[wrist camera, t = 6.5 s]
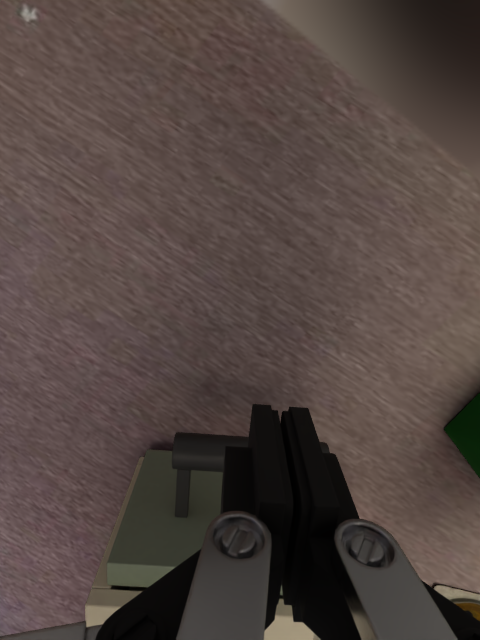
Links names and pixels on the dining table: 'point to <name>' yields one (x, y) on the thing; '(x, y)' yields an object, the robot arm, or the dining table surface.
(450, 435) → the milk carton
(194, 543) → the drawer
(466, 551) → the dining table surface
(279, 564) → the robot arm
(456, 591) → the condiment
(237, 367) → the dining table surface
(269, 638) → the cabinet
